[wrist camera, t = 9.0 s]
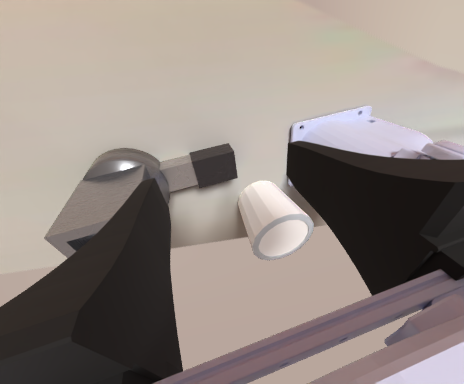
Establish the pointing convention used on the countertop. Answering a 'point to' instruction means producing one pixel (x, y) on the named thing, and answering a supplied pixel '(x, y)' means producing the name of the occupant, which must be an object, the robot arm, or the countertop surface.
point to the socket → (93, 208)
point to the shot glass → (273, 221)
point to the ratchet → (172, 167)
